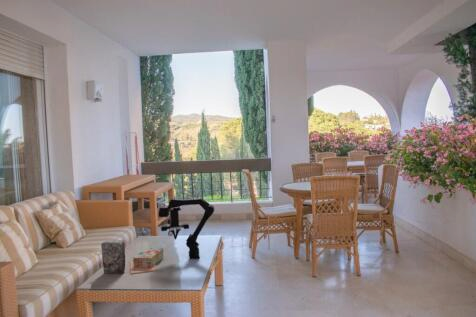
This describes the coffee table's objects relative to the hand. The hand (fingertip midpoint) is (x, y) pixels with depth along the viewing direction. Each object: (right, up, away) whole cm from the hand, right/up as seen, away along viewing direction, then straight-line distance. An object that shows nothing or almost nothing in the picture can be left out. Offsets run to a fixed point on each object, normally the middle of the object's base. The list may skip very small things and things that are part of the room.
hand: (175, 239), depth 259 cm
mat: (-19, -14, -14) cm, 27 cm away
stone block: (-34, -16, -24) cm, 44 cm away
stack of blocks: (-10, -10, -9) cm, 17 cm away
